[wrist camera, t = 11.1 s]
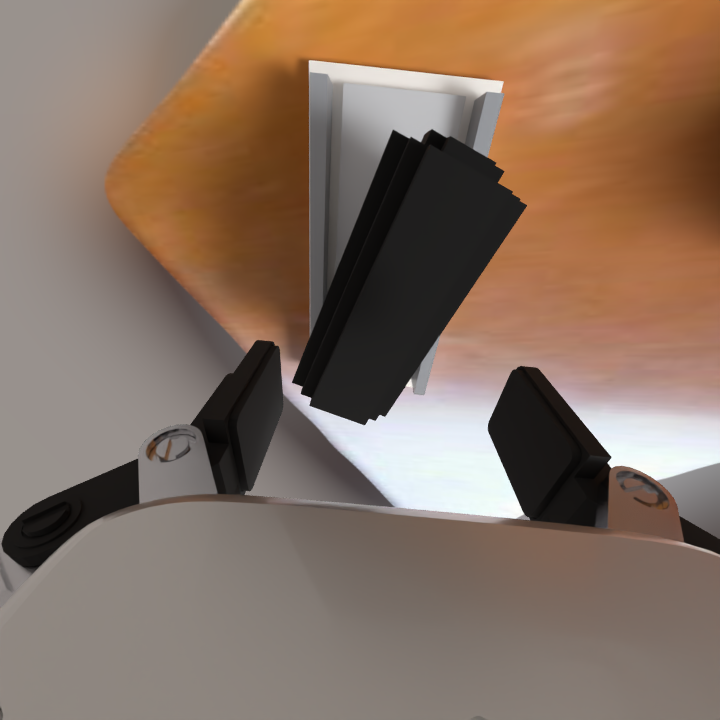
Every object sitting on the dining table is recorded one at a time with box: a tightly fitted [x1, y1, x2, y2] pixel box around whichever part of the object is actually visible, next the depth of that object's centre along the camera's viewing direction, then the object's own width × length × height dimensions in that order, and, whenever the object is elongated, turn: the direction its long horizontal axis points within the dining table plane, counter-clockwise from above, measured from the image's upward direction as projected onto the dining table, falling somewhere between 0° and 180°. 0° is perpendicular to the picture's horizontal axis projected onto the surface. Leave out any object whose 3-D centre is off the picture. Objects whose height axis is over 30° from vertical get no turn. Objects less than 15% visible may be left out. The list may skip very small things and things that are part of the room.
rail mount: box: [309, 60, 504, 395], centre depth 24 cm, size 24×12×3 cm, turn 175°
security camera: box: [292, 129, 527, 425], centre depth 20 cm, size 7×18×10 cm, turn 156°
